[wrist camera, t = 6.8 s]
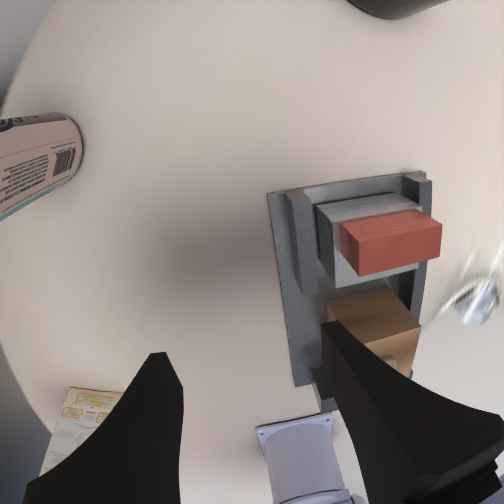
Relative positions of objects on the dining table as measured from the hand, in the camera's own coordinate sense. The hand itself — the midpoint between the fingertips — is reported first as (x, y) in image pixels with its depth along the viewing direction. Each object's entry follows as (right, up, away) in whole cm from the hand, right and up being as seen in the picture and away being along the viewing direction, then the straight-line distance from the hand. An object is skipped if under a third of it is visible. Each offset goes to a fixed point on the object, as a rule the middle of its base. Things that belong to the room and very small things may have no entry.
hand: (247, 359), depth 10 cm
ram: (+7, +5, +8) cm, 12 cm away
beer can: (-12, +10, +5) cm, 17 cm away
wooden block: (+8, -1, +12) cm, 15 cm away
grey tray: (+8, +1, +11) cm, 14 cm away
